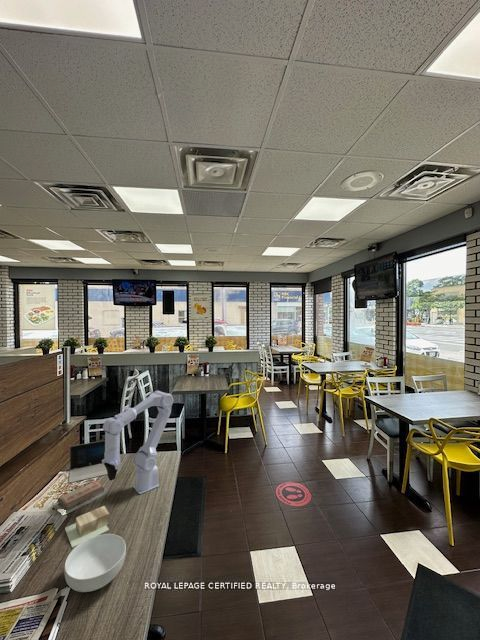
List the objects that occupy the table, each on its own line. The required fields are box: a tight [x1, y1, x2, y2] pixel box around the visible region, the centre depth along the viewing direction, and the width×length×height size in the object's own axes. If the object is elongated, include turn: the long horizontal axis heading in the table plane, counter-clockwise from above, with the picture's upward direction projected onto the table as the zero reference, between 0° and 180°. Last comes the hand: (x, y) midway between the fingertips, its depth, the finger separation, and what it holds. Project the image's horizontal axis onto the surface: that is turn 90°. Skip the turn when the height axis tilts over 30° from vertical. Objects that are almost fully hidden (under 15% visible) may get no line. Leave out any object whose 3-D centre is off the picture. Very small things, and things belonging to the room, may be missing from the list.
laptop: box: [68, 439, 108, 484], centre depth 144 cm, size 18×12×13 cm
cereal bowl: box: [63, 533, 127, 593], centre depth 86 cm, size 17×17×7 cm
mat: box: [64, 522, 110, 549], centre depth 105 cm, size 12×12×1 cm
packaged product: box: [52, 479, 107, 515], centre depth 122 cm, size 18×5×10 cm
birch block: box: [75, 505, 110, 537], centre depth 106 cm, size 4×6×10 cm
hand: (112, 479), depth 119 cm, fingers closed
